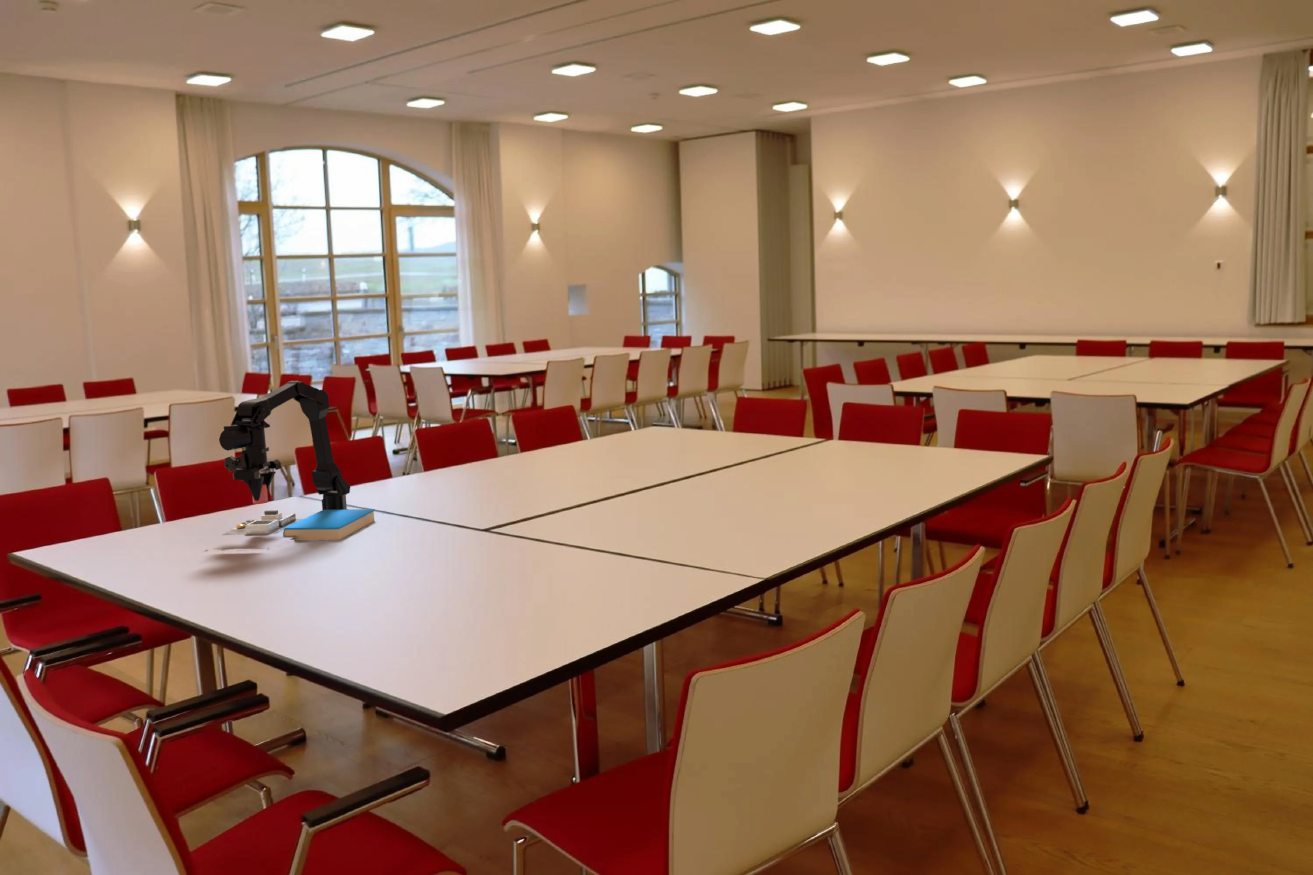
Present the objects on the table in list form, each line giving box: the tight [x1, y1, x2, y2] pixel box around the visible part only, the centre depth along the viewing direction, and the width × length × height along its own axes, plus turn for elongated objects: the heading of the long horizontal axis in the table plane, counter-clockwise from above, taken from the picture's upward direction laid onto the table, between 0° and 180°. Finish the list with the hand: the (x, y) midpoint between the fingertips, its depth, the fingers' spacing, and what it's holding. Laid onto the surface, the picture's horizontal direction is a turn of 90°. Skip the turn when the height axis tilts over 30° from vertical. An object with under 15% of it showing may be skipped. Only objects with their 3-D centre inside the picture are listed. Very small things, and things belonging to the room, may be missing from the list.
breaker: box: [260, 509, 283, 520], centre depth 318 cm, size 4×4×4 cm
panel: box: [221, 512, 303, 536], centre depth 317 cm, size 16×20×4 cm
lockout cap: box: [251, 484, 269, 505], centre depth 310 cm, size 4×4×5 cm
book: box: [282, 508, 376, 541], centre depth 315 cm, size 17×4×25 cm
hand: (260, 498), depth 310 cm, fingers closed on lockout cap, 4 cm apart
